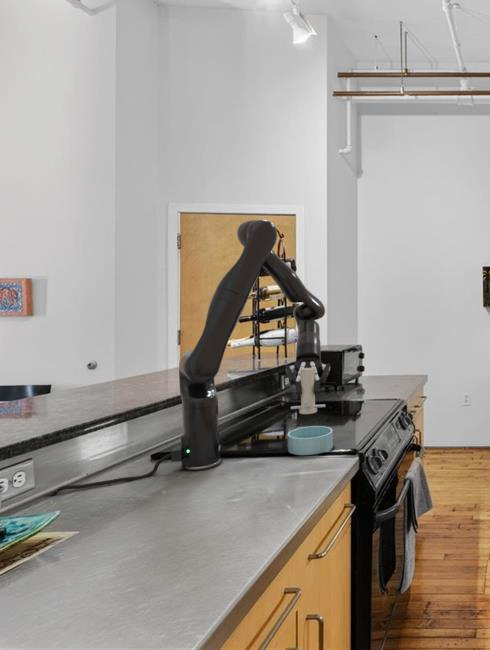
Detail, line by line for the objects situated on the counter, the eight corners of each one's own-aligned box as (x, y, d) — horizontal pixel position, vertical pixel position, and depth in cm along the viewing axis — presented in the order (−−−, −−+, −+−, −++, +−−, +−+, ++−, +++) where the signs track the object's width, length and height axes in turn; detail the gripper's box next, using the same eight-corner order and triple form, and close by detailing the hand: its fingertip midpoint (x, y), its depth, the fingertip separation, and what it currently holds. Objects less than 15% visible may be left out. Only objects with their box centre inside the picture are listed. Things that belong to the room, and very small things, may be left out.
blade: (289, 416, 135) (288, 371, 135) (292, 409, 144) (291, 367, 144) (325, 414, 138) (324, 370, 137) (325, 407, 146) (324, 365, 146)
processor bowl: (285, 458, 138) (285, 440, 138) (290, 444, 151) (289, 427, 151) (333, 454, 141) (332, 436, 141) (333, 441, 154) (332, 424, 154)
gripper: (284, 342, 146) (281, 388, 135) (331, 340, 149) (332, 385, 138) (286, 357, 151) (283, 402, 140) (331, 355, 154) (332, 399, 143)
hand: (307, 393), depth 139 cm, fingers closed on blade, 4 cm apart
